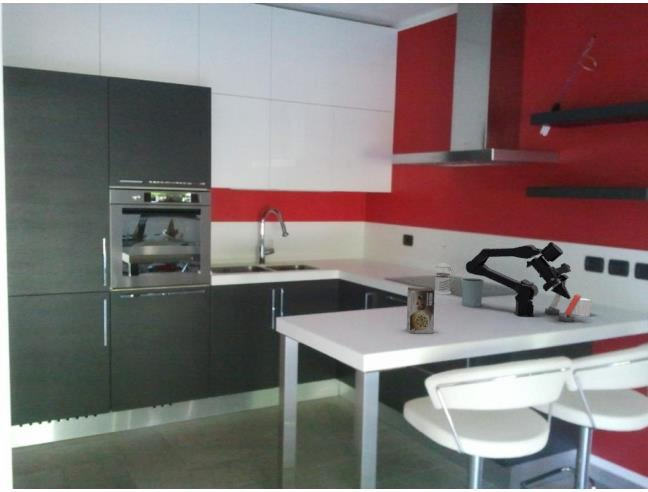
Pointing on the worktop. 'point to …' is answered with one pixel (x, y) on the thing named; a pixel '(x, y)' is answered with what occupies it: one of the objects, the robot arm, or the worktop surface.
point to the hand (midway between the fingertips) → (569, 298)
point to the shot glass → (583, 307)
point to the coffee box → (420, 310)
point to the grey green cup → (472, 291)
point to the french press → (443, 279)
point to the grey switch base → (552, 311)
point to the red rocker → (573, 304)
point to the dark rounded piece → (566, 318)
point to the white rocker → (556, 301)
